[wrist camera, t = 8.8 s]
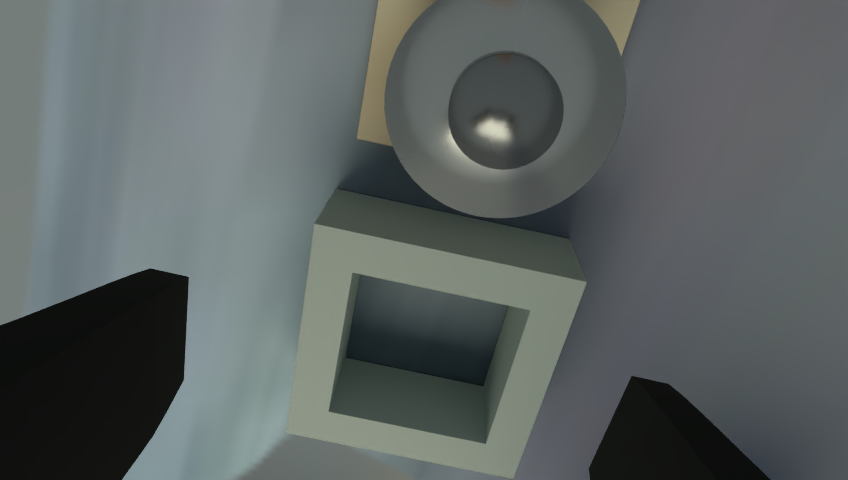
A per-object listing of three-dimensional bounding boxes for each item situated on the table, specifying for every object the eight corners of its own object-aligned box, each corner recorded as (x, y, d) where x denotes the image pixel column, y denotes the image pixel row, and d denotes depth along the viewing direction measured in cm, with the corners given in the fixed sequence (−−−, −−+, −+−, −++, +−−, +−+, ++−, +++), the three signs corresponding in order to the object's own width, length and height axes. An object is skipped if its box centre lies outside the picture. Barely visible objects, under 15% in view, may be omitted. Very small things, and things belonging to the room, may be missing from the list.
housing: (569, 239, 19) (587, 281, 16) (507, 418, 22) (513, 479, 20) (336, 188, 19) (314, 223, 16) (308, 377, 22) (286, 432, 20)
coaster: (654, -61, 15) (661, -63, 15) (573, 180, 18) (576, 186, 18) (400, -120, 15) (398, -123, 15) (359, 134, 18) (356, 138, 18)
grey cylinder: (589, -2, 16) (677, 12, 9) (540, 151, 17) (584, 253, 11) (431, -41, 15) (408, -55, 9) (399, 117, 17) (359, 200, 11)
